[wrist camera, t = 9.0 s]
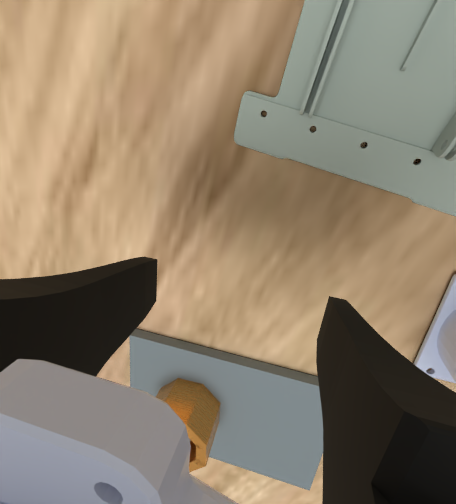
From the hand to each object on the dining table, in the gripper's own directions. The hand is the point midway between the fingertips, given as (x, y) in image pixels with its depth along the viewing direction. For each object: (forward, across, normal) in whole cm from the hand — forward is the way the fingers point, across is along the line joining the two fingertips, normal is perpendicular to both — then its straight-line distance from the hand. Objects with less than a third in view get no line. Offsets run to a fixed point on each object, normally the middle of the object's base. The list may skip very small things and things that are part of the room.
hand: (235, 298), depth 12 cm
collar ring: (+8, +4, +17) cm, 19 cm away
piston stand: (+9, +1, +17) cm, 19 cm away
